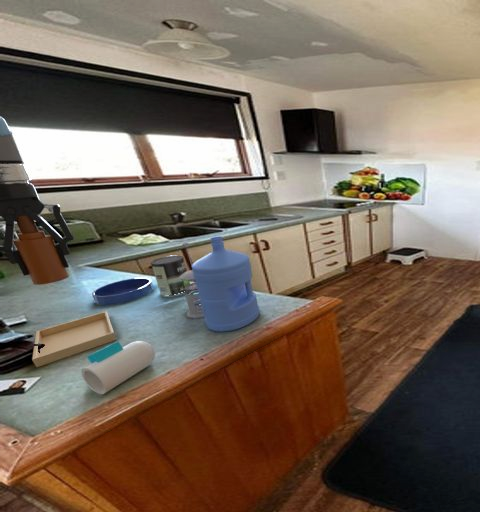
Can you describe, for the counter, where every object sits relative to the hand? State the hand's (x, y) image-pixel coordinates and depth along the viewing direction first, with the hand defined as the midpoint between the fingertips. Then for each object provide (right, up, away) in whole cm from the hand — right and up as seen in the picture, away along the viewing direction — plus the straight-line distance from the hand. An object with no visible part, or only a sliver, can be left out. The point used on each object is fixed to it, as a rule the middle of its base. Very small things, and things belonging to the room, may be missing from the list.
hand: (47, 269), depth 74 cm
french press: (+28, -15, +23) cm, 40 cm away
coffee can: (+8, -11, +36) cm, 39 cm away
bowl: (-11, -12, +34) cm, 38 cm away
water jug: (+42, -17, +16) cm, 48 cm away
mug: (+28, -26, -7) cm, 38 cm away
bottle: (0, -3, +1) cm, 3 cm away
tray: (0, -21, +7) cm, 22 cm away
